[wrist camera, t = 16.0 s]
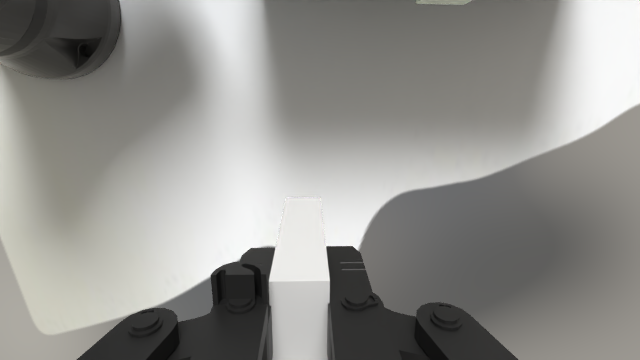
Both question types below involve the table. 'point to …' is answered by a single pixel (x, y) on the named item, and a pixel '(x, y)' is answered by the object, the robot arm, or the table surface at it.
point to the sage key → (443, 2)
